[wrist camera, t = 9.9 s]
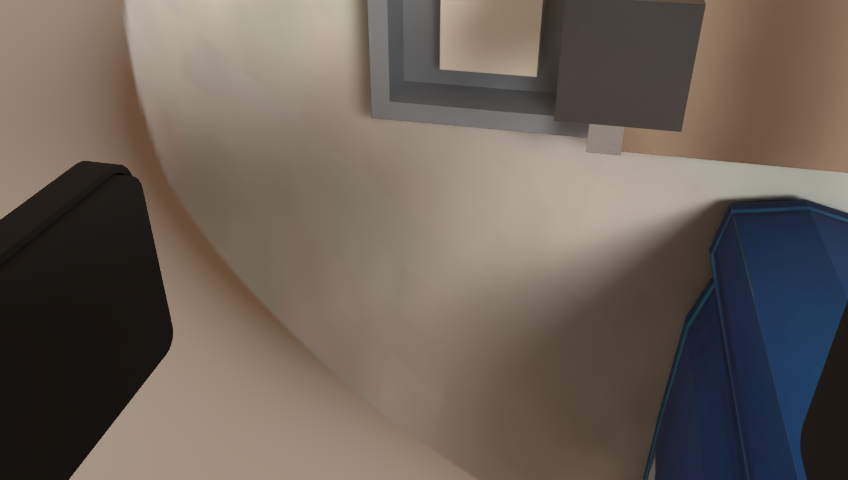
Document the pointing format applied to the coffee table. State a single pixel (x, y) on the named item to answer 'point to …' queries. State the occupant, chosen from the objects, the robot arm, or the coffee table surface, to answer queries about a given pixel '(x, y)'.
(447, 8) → the tile cream
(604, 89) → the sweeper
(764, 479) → the book
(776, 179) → the coffee table surface
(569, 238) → the coffee table surface
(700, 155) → the brown tray
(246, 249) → the coffee table surface
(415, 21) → the box
